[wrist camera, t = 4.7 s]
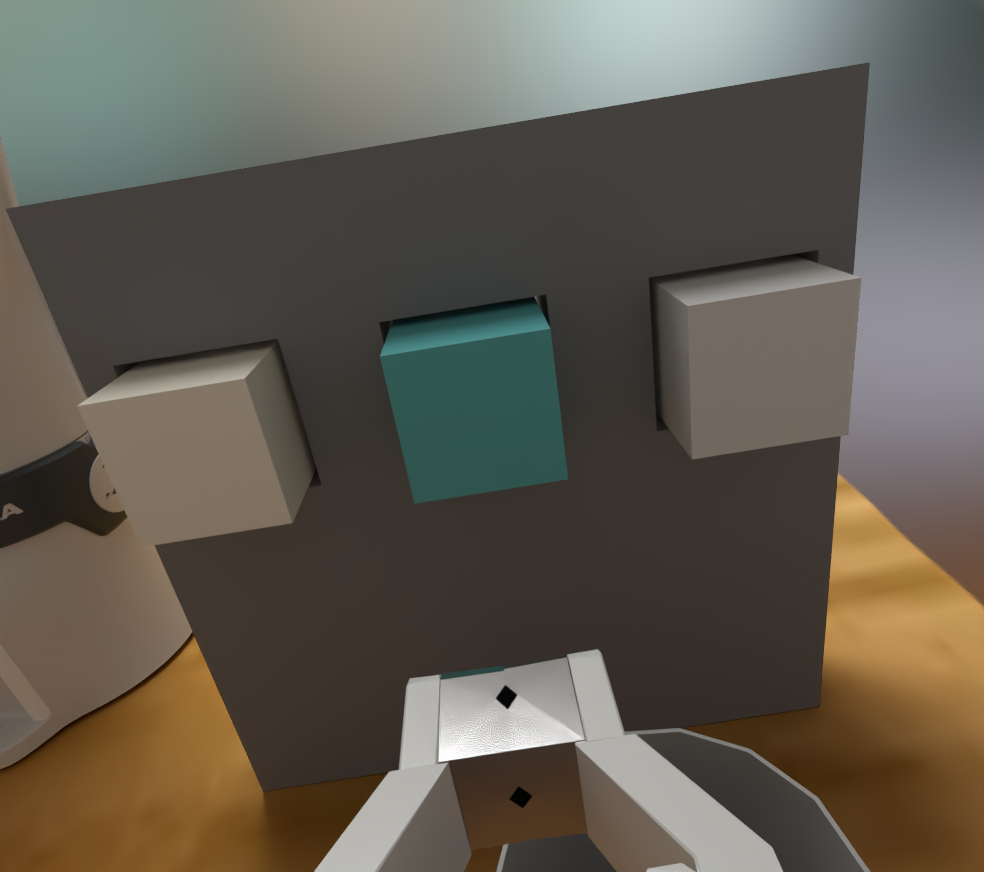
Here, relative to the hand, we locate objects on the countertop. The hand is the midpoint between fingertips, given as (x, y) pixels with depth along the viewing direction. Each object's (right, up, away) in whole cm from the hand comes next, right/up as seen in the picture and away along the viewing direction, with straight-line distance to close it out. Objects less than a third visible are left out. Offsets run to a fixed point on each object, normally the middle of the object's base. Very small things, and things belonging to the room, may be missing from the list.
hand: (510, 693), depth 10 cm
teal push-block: (-1, +3, +13) cm, 14 cm away
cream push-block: (-9, +2, +14) cm, 17 cm away
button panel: (+2, -10, +22) cm, 24 cm away
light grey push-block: (+8, +5, +13) cm, 17 cm away
